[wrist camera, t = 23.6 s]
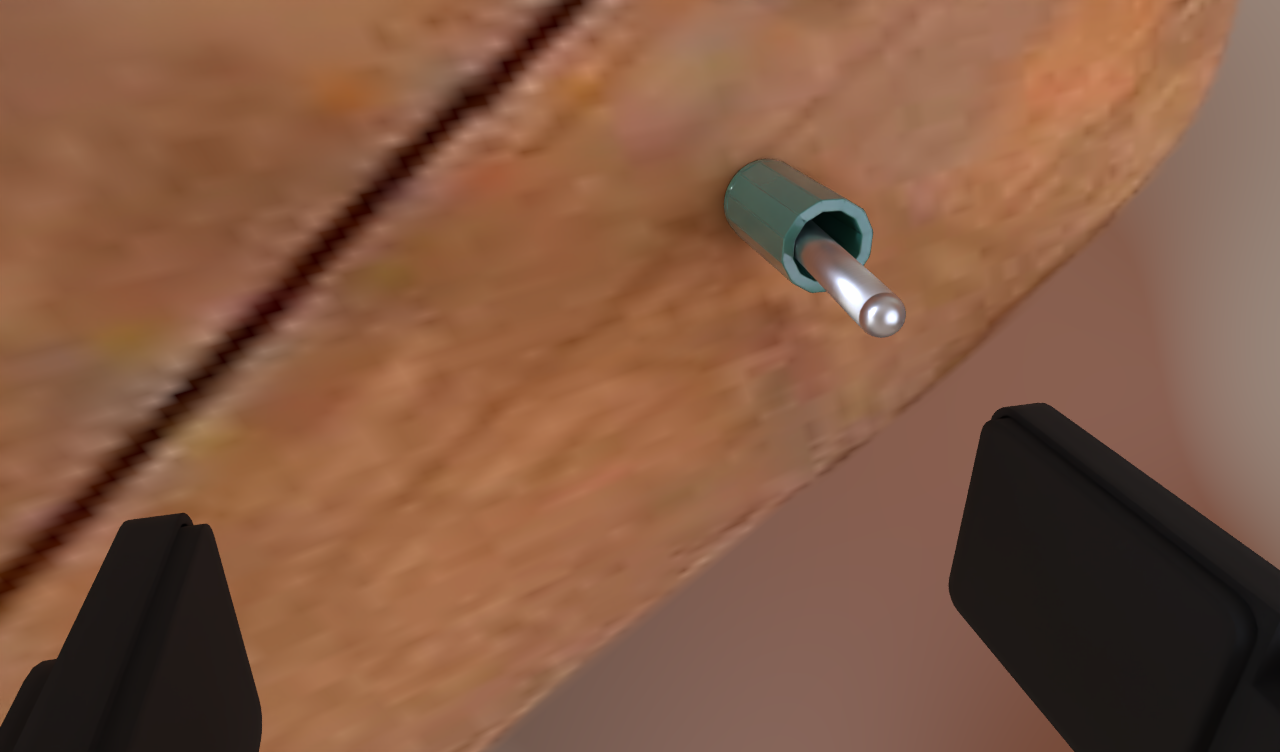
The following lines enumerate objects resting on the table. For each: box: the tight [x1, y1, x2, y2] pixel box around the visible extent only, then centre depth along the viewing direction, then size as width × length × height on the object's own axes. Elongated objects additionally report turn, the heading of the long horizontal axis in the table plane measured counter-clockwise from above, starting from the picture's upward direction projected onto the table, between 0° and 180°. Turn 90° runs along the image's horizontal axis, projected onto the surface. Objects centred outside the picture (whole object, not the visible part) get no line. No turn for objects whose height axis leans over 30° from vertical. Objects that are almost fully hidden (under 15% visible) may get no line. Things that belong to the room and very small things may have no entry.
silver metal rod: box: [794, 220, 906, 338], centre depth 33 cm, size 2×2×14 cm
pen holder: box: [724, 159, 873, 293], centre depth 36 cm, size 4×4×7 cm
